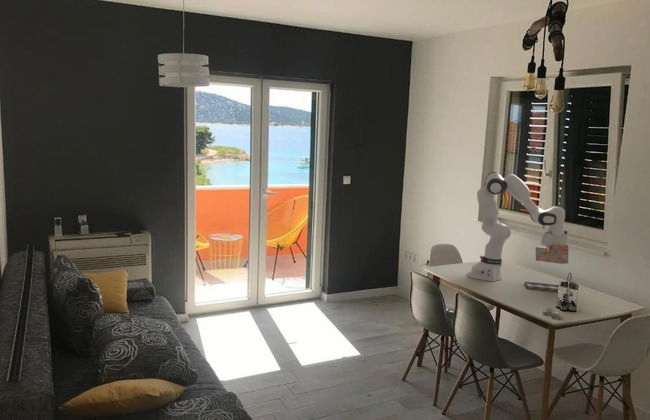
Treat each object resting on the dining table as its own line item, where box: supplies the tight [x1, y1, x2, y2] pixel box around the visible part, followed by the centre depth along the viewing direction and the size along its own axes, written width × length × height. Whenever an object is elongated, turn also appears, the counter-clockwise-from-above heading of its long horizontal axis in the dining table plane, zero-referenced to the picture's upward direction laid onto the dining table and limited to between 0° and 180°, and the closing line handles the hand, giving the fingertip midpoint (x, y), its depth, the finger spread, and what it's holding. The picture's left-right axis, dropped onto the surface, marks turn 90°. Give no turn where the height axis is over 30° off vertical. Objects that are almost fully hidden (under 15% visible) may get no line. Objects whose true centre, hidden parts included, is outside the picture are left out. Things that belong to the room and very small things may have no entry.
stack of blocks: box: [535, 243, 569, 265], centre depth 359 cm, size 21×6×12 cm, turn 27°
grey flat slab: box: [523, 281, 560, 293], centre depth 352 cm, size 25×10×2 cm, turn 80°
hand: (552, 251), depth 358 cm, fingers closed on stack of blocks, 6 cm apart
